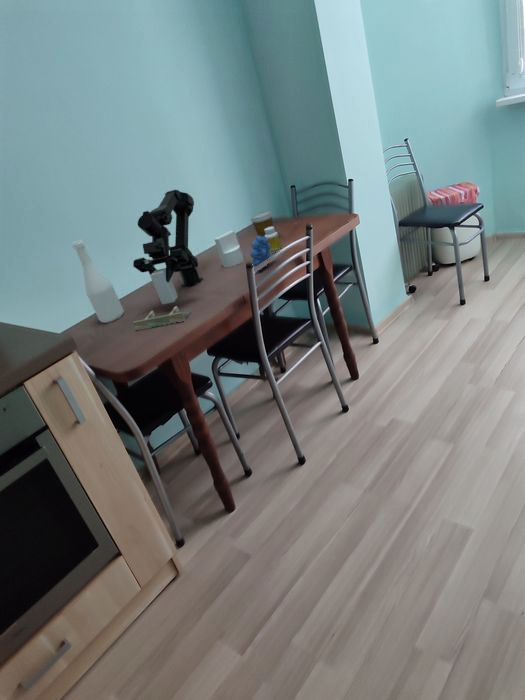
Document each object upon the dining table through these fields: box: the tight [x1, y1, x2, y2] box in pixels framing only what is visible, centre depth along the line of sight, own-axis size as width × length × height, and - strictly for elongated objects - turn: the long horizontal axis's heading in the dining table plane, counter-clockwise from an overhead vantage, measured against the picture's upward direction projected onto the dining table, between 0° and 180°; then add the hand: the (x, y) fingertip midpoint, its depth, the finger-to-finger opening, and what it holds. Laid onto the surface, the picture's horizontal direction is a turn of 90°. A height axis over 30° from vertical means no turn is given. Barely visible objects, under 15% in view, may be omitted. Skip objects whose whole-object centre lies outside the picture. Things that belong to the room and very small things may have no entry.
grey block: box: [149, 267, 179, 305], centre depth 168 cm, size 4×4×11 cm
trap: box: [132, 305, 192, 331], centre depth 162 cm, size 7×18×3 cm, turn 79°
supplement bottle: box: [264, 226, 282, 255], centre depth 194 cm, size 5×5×10 cm
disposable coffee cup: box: [250, 210, 274, 237], centre depth 210 cm, size 10×10×12 cm
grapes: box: [249, 235, 272, 271], centre depth 180 cm, size 12×7×12 cm, turn 144°
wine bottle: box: [72, 239, 125, 324], centre depth 175 cm, size 10×10×30 cm
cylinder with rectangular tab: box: [214, 230, 245, 268], centre depth 196 cm, size 9×9×12 cm
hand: (161, 283), depth 166 cm, fingers closed on grey block, 4 cm apart
